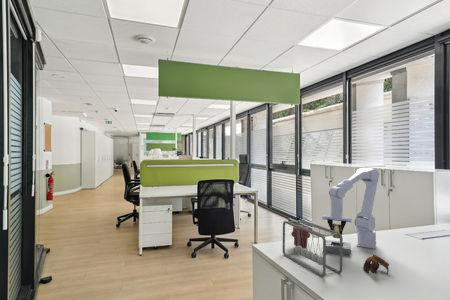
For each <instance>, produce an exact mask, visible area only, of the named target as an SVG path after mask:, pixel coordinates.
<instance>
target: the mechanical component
mask: <svg viewBox="0 0 450 300" xmlns="http://www.w3.org/2000/svg"><path fill="white" fill-rule="evenodd" d="M300 226H303V227H305V228H308V227H307V225H306V226H305V225H303V224H300ZM296 229H297V231H296ZM308 229H310V227H309V228H308ZM290 233H291V234H290V236H291V237H293V245H294V246H295V247H296V246H297V235H298V228H296V227H294V226H292V232H290ZM307 233H308V235H307ZM307 233H306V231H304V230H303V231H302V232H301V229H300V240H301V242H300V246H301V247H302V248H306V249H308V240H307V241H306V239H307V237H308V239H309V238H311V233H309V232H307ZM301 235H302V237H303V239H302V237H301ZM303 244H304V246H303ZM305 245H306V247H305Z"/></svg>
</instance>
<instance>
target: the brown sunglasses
mask: <svg viewBox="0 0 450 300" xmlns="http://www.w3.org/2000/svg"><path fill="white" fill-rule="evenodd" d="M381 266H383V267H384V268H385V269H386V275H388V274H389V266H390V264H389V263H388V262H387V261H385V260H384V259H383V258H382V257H380V256H378V255H376V254H372V255H371V256H368V257H366V260H365V261H364V263H363V267H362V269H363V271H364V272H366V273H367V274H369V273H371V274H376V273H377V272H378V270H379V268H380V267H381Z"/></svg>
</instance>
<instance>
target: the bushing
mask: <svg viewBox="0 0 450 300" xmlns="http://www.w3.org/2000/svg"><path fill="white" fill-rule="evenodd" d="M333 231H336V232H338V233H341V223H337V222H336V223H334V222H333ZM332 238H334V239H340V237H339V236H338V235H332Z"/></svg>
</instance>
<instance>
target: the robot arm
mask: <svg viewBox="0 0 450 300" xmlns="http://www.w3.org/2000/svg"><path fill="white" fill-rule="evenodd" d="M379 176H380V173H379V171H378V169H377V168H369V167H367V168H365V167H359V168H358V169H356V172H355V173H354V174H353V175H352V176H351V177H349V179H348V178H347V179H346V178H345V179H342V181H341V182H339V183H338V184H336V185H335V186H332V187H330V188H329V191H328V195H329V197H330V215H322V217H321V218H322V219H321V220H324V221H325V220H326V222H327V224H328V227H329V229H330V230H333V223H334V221H336V222H340V224H341V233H340V234H341V235H342V236H343V231H344V229H345V227H346V224H347V223H352V217H346V216H344V214H343V210H344V209H343V199H344V197H345V196H346V194H347V192H348V191H350V190H351V189H352V188H353V187H354V184H357V183H358V182H359V181H360V180H361V181H362V182H363V183H364V184H365V191H364V195H363V200H362V206H361V211H359V212H358V213H357V214H356V216H355V218H354V221H353V223H354V226H355V227H356V229H357V241H356V246H357V247H361V248H368V249H377V236H376V230H375V228H376V217H375V216H374V215H373V213H372V212H373V207H374V203H375V197H376V193H377V187H378V184H379V178H380V177H379ZM330 234H332V233H330Z"/></svg>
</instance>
